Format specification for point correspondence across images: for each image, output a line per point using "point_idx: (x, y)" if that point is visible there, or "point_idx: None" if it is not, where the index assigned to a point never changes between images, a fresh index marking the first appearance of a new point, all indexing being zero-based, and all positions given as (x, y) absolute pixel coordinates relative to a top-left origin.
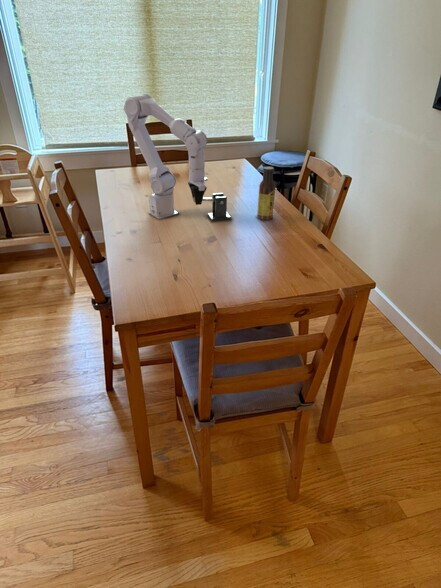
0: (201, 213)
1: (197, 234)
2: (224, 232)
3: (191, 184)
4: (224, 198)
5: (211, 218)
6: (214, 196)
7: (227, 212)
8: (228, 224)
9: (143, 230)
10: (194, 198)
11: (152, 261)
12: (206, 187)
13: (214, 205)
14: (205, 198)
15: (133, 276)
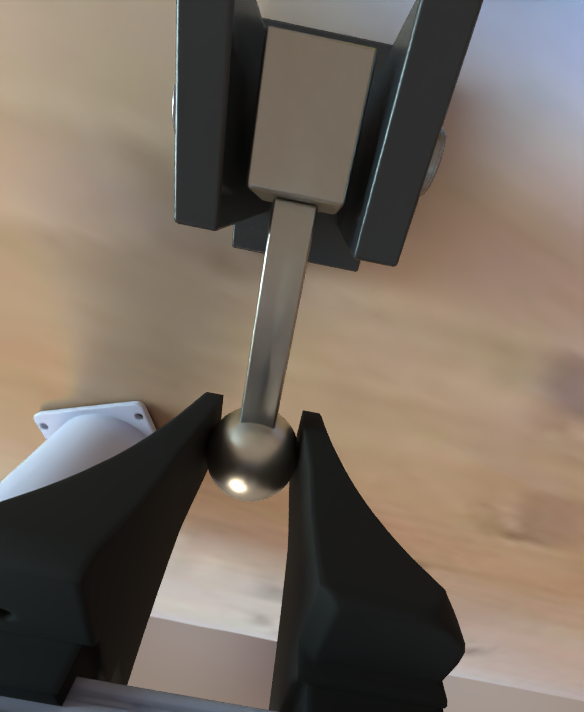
0: (173, 264)
1: (463, 426)
2: (574, 268)
3: (114, 681)
4: (451, 77)
5: (344, 268)
6: (230, 201)
7: (291, 25)
8: (480, 153)
9: (278, 570)
10: (289, 516)
11: (540, 622)
12: (429, 621)
13: (256, 197)
14: (276, 373)
15: (576, 671)
